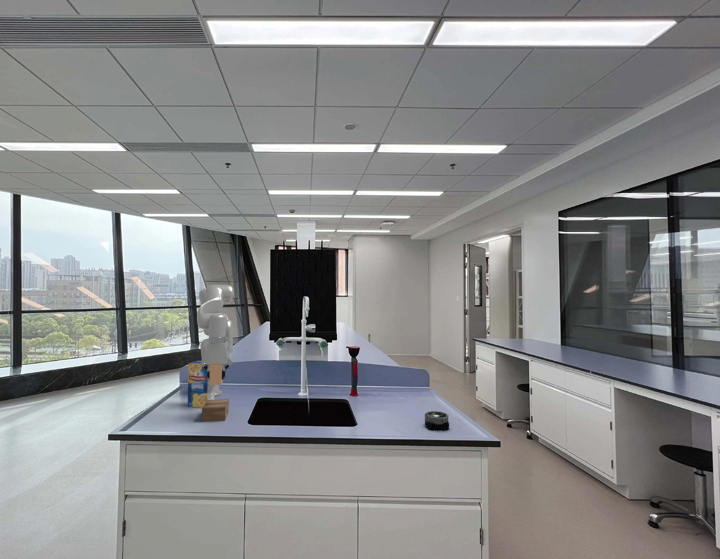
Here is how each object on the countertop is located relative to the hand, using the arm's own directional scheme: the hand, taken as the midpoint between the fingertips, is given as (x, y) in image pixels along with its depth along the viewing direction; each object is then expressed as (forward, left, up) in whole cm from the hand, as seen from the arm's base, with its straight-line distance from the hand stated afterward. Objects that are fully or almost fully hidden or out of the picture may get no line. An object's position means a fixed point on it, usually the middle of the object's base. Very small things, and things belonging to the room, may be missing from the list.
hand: (216, 378), depth 188 cm
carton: (0, 0, -2) cm, 2 cm away
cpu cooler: (+32, +97, -18) cm, 104 cm away
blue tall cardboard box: (-20, -10, -18) cm, 29 cm away
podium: (0, 0, -18) cm, 18 cm away
